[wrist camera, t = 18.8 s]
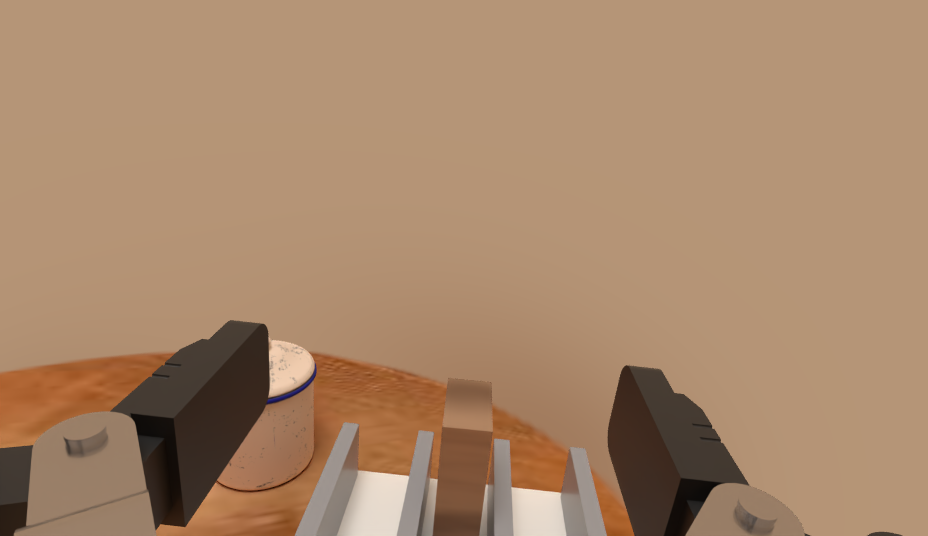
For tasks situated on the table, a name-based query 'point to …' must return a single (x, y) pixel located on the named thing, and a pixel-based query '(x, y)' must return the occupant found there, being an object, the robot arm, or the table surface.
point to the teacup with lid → (278, 425)
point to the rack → (413, 497)
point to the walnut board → (463, 458)
